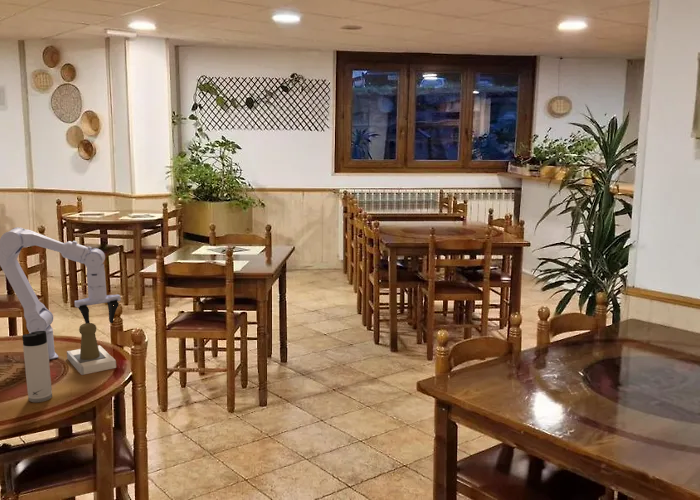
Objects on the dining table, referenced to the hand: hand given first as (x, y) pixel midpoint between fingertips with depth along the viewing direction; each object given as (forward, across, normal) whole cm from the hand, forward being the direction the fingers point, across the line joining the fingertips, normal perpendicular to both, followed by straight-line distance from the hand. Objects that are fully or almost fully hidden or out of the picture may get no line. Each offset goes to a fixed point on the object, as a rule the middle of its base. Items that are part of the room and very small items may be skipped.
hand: (99, 324), depth 231 cm
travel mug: (+11, -25, -28) cm, 39 cm away
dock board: (+10, -5, -7) cm, 13 cm away
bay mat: (+8, -6, -8) cm, 13 cm away
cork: (+8, -6, -8) cm, 13 cm away
